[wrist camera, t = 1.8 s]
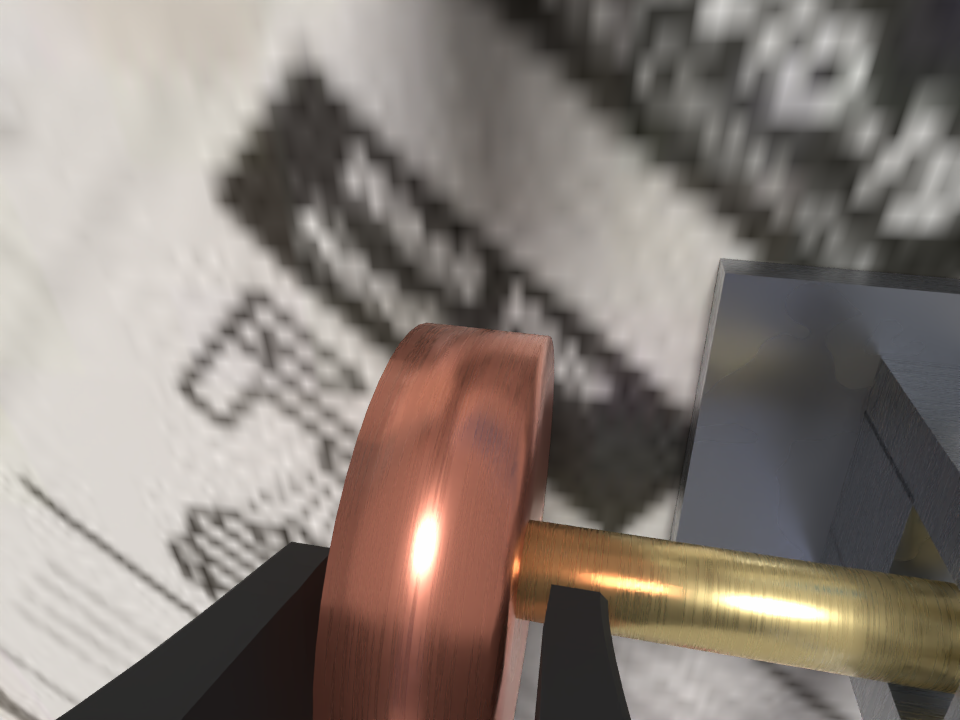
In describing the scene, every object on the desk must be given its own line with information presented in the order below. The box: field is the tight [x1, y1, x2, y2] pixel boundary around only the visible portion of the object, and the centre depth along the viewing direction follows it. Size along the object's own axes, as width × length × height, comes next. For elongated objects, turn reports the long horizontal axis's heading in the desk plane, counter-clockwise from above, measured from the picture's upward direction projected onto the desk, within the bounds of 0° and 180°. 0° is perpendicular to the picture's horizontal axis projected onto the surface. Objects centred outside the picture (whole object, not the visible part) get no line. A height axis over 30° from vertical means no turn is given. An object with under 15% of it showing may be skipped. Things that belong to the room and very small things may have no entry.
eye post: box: [670, 259, 960, 720], centre depth 11 cm, size 7×7×7 cm
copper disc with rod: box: [313, 323, 960, 720], centre depth 10 cm, size 11×7×7 cm, turn 88°
